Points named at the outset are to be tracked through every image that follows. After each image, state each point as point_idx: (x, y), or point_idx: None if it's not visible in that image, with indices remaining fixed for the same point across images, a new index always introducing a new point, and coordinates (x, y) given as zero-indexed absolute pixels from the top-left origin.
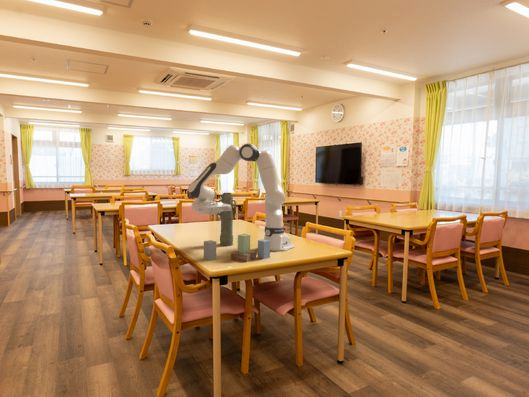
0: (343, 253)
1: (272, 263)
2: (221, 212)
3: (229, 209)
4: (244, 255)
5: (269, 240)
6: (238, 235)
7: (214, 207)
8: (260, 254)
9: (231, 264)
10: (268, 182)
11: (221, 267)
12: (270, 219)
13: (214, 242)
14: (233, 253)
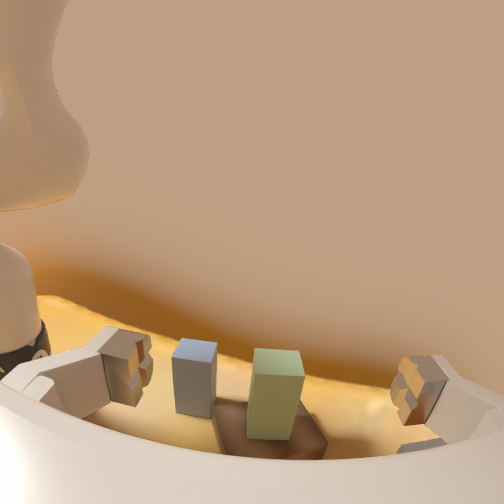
0: (57, 298)
1: (243, 364)
2: None
3: (151, 362)
4: (300, 401)
5: (181, 339)
6: (304, 375)
7: (480, 442)
8: (213, 397)
9: (356, 419)
10: (49, 65)
11: None
12: (30, 291)
13: (411, 445)
14: (317, 438)
